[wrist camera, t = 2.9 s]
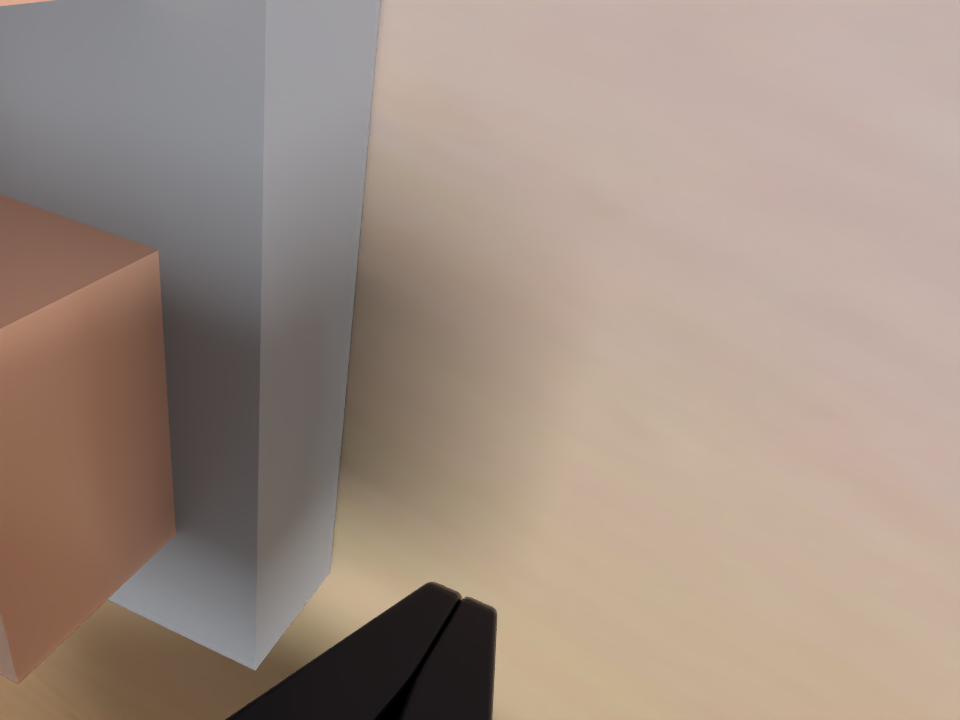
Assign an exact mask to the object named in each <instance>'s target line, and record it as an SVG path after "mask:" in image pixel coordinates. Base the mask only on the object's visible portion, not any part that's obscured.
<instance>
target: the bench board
mask: <svg viewBox="0 0 960 720" xmlns="http://www.w3.org/2000/svg"><path fill="white" fill-rule="evenodd" d="M380 4H381V0H53V1H44V2H34V3H25V4H16V5H7V6H0V194H1V195H4V196H7V197H10V198H13V199H15V200H18V201H21V202H24V203H27V204H29V205H32V206H35V207H38V208H41V209H44V210H46V211H49V212H52V213H55V214H58V215H60V216H63V217H66V218H69V219H72V220H75V221H77V222H80V223H83V224H86V225H89V226H92V227H94V228H97V229H100V230H103V231H106V232H108V233H111V234H114V235H117V236H120V237H123V238H125V239H128V240H131V241H134V242H137V243H139V244H142V245H145V246H148V247H151V248H154V249H156V250H158V254H159V270H160V286H161V302H162V318H163V335H164V351H165V367H166V383H167V399H168V415H169V431H170V447H171V464H172V480H173V496H174V512H175V528H176V535H175V536H174V537H173V538H172V539H171V540H170V541H169V542H168V543H167V544H165V545H164V546H163V547H162V548H161V549H160V550H159V551H158V552H157V553H156V554H155V555H154V556H153V557H152V558H151V559H150V560H149V561H148V562H146V563H145V564H144V565H143V566H142V567H141V568H140V569H139V570H138V571H137V572H136V573H135V574H134V575H133V576H132V577H131V578H130V579H129V580H127V581H126V582H125V583H124V584H123V585H122V586H121V587H120V588H119V589H118V590H117V591H116V592H115V593H114V594H113V595H112V596H111V597H110V598H108V599H107V600H109V601H111V602H113V603H116V604H118V605H120V606H122V607H124V608H126V609H128V610H130V611H132V612H134V613H136V614H138V615H140V616H143V617H145V618H147V619H149V620H151V621H153V622H155V623H157V624H159V625H161V626H163V627H165V628H167V629H170V630H172V631H174V632H176V633H178V634H180V635H182V636H184V637H186V638H188V639H190V640H192V641H194V642H197V643H199V644H201V645H203V646H205V647H207V648H209V649H211V650H213V651H215V652H217V653H219V654H221V655H223V656H226V657H228V658H230V659H232V660H234V661H236V662H238V663H240V664H242V665H244V666H246V667H248V668H250V669H253V670H256V669H257V668H258V667H259V665H260V664H261V663H262V661H263V660H264V659H265V657H266V656H267V655H268V653H269V652H270V651H271V649H272V648H273V647H274V645H275V644H276V643H277V642H278V640H279V639H280V638H281V636H282V635H283V634H284V632H285V631H286V630H287V628H288V627H289V626H290V624H291V623H292V622H293V620H294V619H295V618H296V616H297V615H298V614H299V613H300V611H301V610H302V609H303V607H304V606H305V605H306V603H307V602H308V601H309V599H310V598H311V597H312V595H313V594H314V593H315V591H316V590H317V589H318V588H319V586H320V585H321V584H322V582H323V581H324V580H325V578H326V577H327V576H328V574H329V573H330V568H331V556H332V545H333V534H334V523H335V511H336V500H337V489H338V477H339V466H340V455H341V444H342V432H343V421H344V410H345V398H346V387H347V376H348V365H349V353H350V342H351V331H352V320H353V308H354V297H355V286H356V274H357V263H358V252H359V241H360V229H361V218H362V207H363V195H364V184H365V173H366V162H367V150H368V139H369V128H370V117H371V105H372V94H373V83H374V71H375V60H376V49H377V38H378V26H379V15H380Z"/></svg>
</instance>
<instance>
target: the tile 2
mask: <svg viewBox="0 0 960 720" xmlns="http://www.w3.org/2000/svg"><path fill="white" fill-rule="evenodd" d="M175 535H176V528H175V512H174V496H173V480H172V464H171V447H170V431H169V415H168V399H167V383H166V367H165V351H164V335H163V318H162V302H161V286H160V270H159V254H158V250H156V249H154V248H151V247H148V246H145V245H142V244H139V243H137V242H134V241H131V240H128V239H125V238H123V237H120V236H117V235H114V234H111V233H108V232H106V231H103V230H100V229H97V228H94V227H92V226H89V225H86V224H83V223H80V222H77V221H75V220H72V219H69V218H66V217H63V216H60V215H58V214H55V213H52V212H49V211H46V210H44V209H41V208H38V207H35V206H32V205H29V204H27V203H24V202H21V201H18V200H15V199H13V198H10V197H7V196H4V195H1V194H0V675H2V676H4V677H6V678H8V679H10V680H11V681H13V682H15V683H17V684H19V683H20V682H21V681H22V680H23V679H24V678H25V677H26V676H27V675H28V674H29V673H30V672H31V671H33V670H34V669H35V668H36V667H37V666H38V665H39V664H40V663H41V662H42V661H43V660H44V659H45V658H46V657H47V656H48V655H49V654H50V653H52V652H53V651H54V650H55V649H56V648H57V647H58V646H59V645H60V644H61V643H62V642H63V641H64V640H65V639H66V638H67V637H68V636H69V635H70V634H72V633H73V632H74V631H75V630H76V629H77V628H78V627H79V626H80V625H81V624H82V623H83V622H84V621H85V620H86V619H87V618H88V617H89V616H91V615H92V614H93V613H94V612H95V611H96V610H97V609H98V608H99V607H100V606H101V605H102V604H103V603H104V602H105V601H106V600H107V599H108V598H110V597H111V596H112V595H113V594H114V593H115V592H116V591H117V590H118V589H119V588H120V587H121V586H122V585H123V584H124V583H125V582H126V581H127V580H129V579H130V578H131V577H132V576H133V575H134V574H135V573H136V572H137V571H138V570H139V569H140V568H141V567H142V566H143V565H144V564H145V563H146V562H148V561H149V560H150V559H151V558H152V557H153V556H154V555H155V554H156V553H157V552H158V551H159V550H160V549H161V548H162V547H163V546H164V545H165V544H167V543H168V542H169V541H170V540H171V539H172V538H173V537H174V536H175Z"/></svg>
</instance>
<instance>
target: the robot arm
mask: <svg viewBox="0 0 960 720" xmlns="http://www.w3.org/2000/svg"><path fill="white" fill-rule="evenodd" d="M496 631H497V612H496V610H495V608H493V607H492V606H489V605H487V604H485V603H482V602H480V601H478V600H475V599H473V598H471V597H465V598H464V599H462V596H461V594H460V593H458V592H457V591H454V590H452V589H450V588H447V587H445V586H443V585H440V584H438V583H435V582H429V583H426V584H425V585H423V586H422V587H420V588H419V589H417V590H416V591H414V592H413V593H411V594H410V595H408V596H407V597H405V598H404V599H402V600H401V601H399V602H398V603H396V604H395V605H394V606H392V607H391V608H389V609H388V610H386V611H385V612H383V613H382V614H380V615H379V616H377V617H376V618H374V619H373V620H371V621H370V622H368V623H367V624H365V625H364V626H363V627H361V628H360V629H358V630H357V631H355V632H354V633H352V634H351V635H349V636H348V637H346V638H345V639H343V640H342V641H340V642H339V643H337V644H336V645H335V646H333V647H332V648H330V649H329V650H327V651H326V652H324V653H323V654H321V655H320V656H318V657H317V658H315V659H314V660H312V661H311V662H309V663H308V664H306V665H305V666H304V667H302V668H301V669H299V670H298V671H296V672H295V673H293V674H292V675H290V676H289V677H287V678H286V679H284V680H283V681H281V682H280V683H278V684H277V685H276V686H274V687H273V688H271V689H270V690H268V691H267V692H265V693H264V694H262V695H261V696H259V697H258V698H256V699H255V700H253V701H252V702H250V703H249V704H247V705H246V706H245V707H243V708H242V709H240V710H239V711H237V712H236V713H234V714H233V715H231V716H230V717H228V718H227V719H225V720H492V715H493V694H494V673H495V652H496Z"/></svg>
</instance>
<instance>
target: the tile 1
mask: <svg viewBox="0 0 960 720" xmlns="http://www.w3.org/2000/svg"><path fill="white" fill-rule="evenodd" d="M44 1H53V0H0V6H7V5H16V4H25V3H34V2H44Z"/></svg>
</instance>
